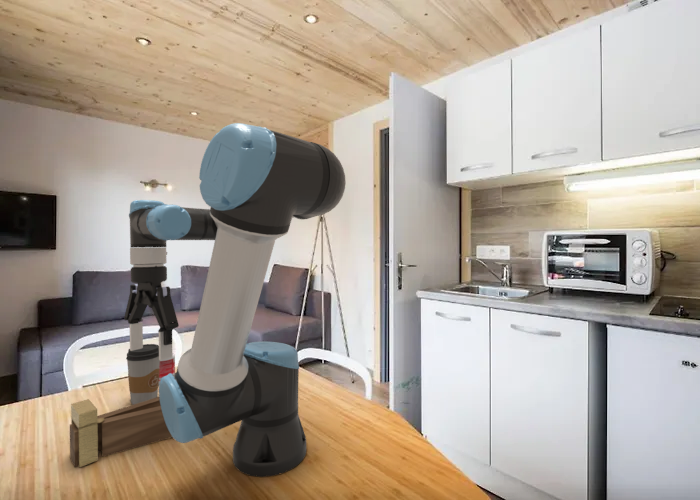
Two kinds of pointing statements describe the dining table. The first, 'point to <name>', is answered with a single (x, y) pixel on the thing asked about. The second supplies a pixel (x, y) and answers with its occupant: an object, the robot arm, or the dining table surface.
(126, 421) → the tong arm
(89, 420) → the lock collar
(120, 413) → the base
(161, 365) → the pill bottle
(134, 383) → the coffee cup
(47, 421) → the dining table surface
